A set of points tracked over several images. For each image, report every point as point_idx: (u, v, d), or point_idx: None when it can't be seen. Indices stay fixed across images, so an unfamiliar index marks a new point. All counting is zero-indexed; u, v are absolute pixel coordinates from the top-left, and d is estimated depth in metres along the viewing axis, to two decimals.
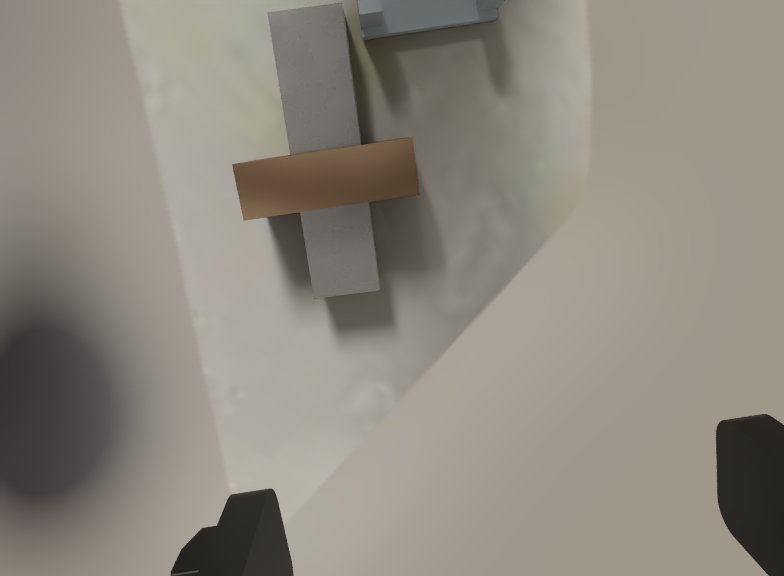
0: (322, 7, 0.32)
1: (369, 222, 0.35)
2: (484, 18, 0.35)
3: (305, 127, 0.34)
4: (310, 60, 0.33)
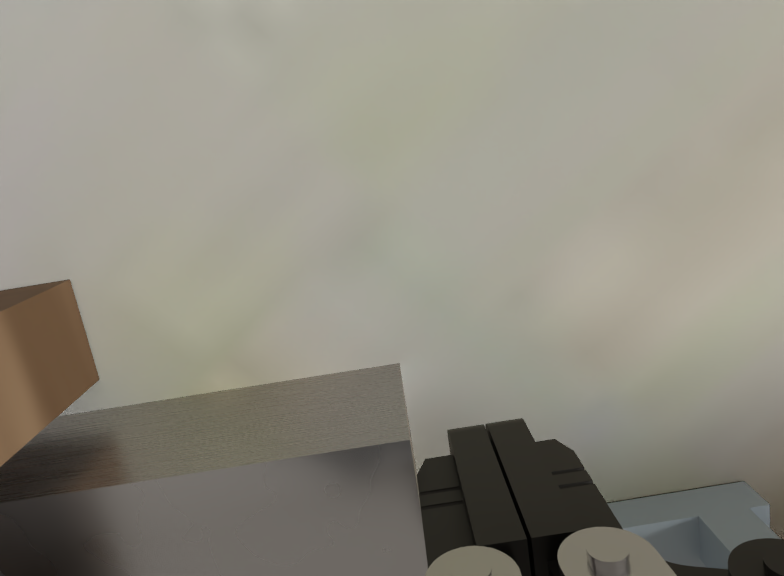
0: None
1: None
2: None
3: (81, 545, 0.11)
4: (280, 554, 0.11)
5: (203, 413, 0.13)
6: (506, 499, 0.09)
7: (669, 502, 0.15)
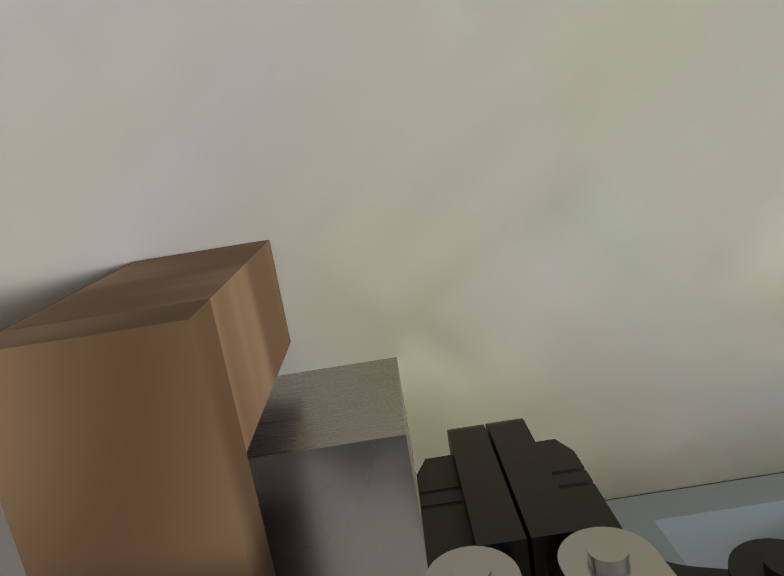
0: None
1: None
2: None
3: None
4: (275, 550, 0.11)
5: None
6: (506, 499, 0.09)
7: None
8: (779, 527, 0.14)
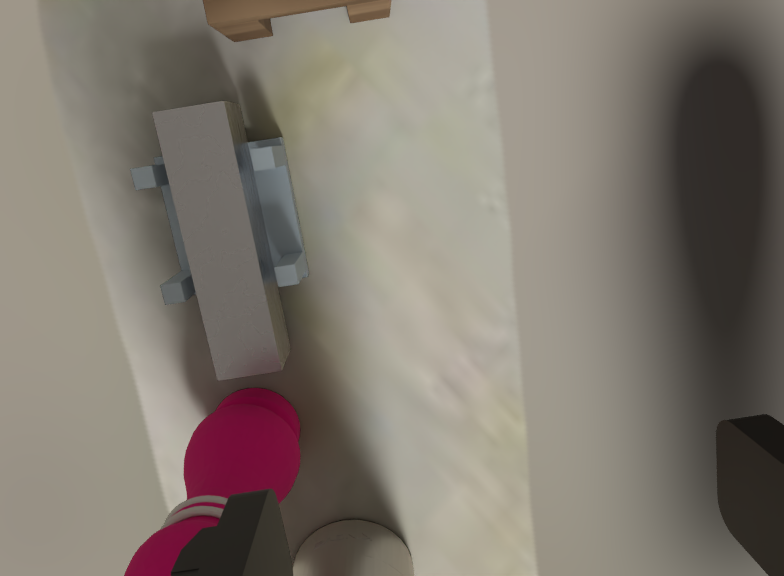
0: (233, 377, 0.37)
1: (171, 187, 0.34)
2: None
3: (243, 277, 0.35)
4: (242, 335, 0.36)
5: (274, 292, 0.38)
6: None
7: (302, 244, 0.40)
8: (284, 213, 0.38)
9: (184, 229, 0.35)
